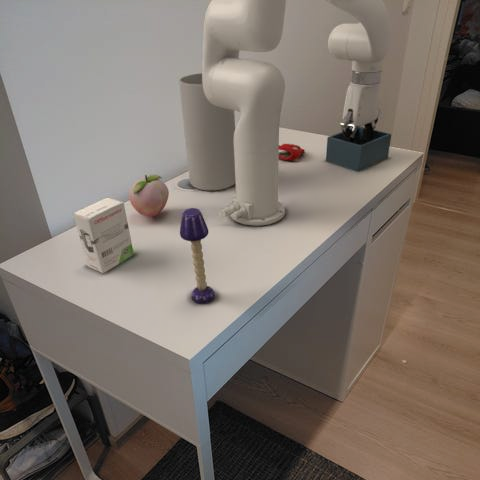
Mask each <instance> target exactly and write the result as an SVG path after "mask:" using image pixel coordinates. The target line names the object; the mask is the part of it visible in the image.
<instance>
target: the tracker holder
mask: <svg viewBox="0 0 480 480" xmlns="http://www.w3.org/2000/svg"><path fill="white" fill-rule="evenodd" d="M279 151H284V152H285V151H286V152H289V153H290V155H289V156H288V157H286V156H283V155H279V159H280V160H284V161H290V162H293V161H294V162H295V161H296V160H297V159H299V157H300V156H301V155H302V154H305V149H304V148H301V146H299V145H298V144H294V143H282V144H281V145H279Z"/></svg>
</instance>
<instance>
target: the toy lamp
mask: <svg viewBox="0 0 480 480" xmlns="http://www.w3.org/2000/svg"><path fill="white" fill-rule="evenodd" d="M180 218H181V219H180V227H179V228H180V229H179V236H180V238H181V239H182V240H184V241H187V242H190V248H191V251H192V253H191V255H192V259H193V266H194V269H193V270H194V274H195V282H196V287H195V288H194V289H193V290H192V291H191V301H192V302H194V303H196V304H199V305H201V304H202V305H203V304H204V305H205V304H208V303H211V302H212V301H214V299H215V298H216V293H215V291H214V289H213V288H212V287H211V286H209V285H208V283H207V281H206V280H207V276H206V268H205V260H204V253H203V245H202V240H204V239H205V238H206V237H208V234H209V228H208V225H207V222H206V221H205V218H204V215H203V213H202V211H201V210H200V209H198V208H196V207H191V208H186V209H184V210H183V211H182V213H181V217H180Z"/></svg>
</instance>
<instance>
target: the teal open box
mask: <svg viewBox="0 0 480 480" xmlns="http://www.w3.org/2000/svg"><path fill="white" fill-rule="evenodd" d="M363 128H365V126H360V127H358V128H357V131H356V133H355V136H354V137H356V138H357V140H360V139H362V134H363ZM352 129H353V128H352V127H350V130H351V132H352ZM344 139H345V136H344V133H343V132H342V131H339V132H338V133H334V134H332V135H330V136H329V135H328V136H327V139H326V151H325V152H326V153H325V162H327V163H330V164H333V165H336V166H340V167H343V168H347V169H349V170H353V171H356V172H360V171H362V170H365V169H367V168H369V167H371V166H372V167H373V166H374V165H377V164H379V163H381V162H383V161H385V160H387V159H388V158H389V154H390V153H389V152H390V146H391V140H392V133H389V132H385V131H381V130H377V129H375V130H374V133H373V141H370V142H368V143H365V144H363V143H362V141H361V142H360V143H359V144H357V143H356V144H355V143H351V142H347V141H344ZM355 142H356V139H355ZM357 142H358V141H357Z"/></svg>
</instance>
